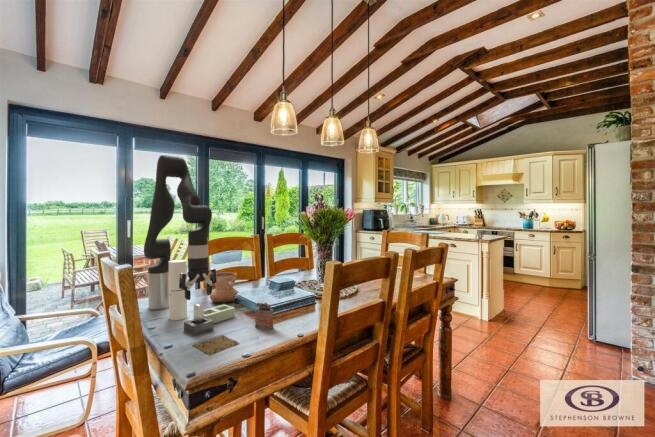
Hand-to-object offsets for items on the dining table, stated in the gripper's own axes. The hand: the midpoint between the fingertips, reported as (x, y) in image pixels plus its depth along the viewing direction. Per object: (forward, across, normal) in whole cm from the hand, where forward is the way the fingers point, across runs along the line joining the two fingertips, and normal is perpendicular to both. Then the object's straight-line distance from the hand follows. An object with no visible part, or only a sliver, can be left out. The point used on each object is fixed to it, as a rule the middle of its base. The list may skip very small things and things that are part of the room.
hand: (198, 297), depth 122 cm
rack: (+13, -11, -6) cm, 18 cm away
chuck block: (+13, 0, 0) cm, 13 cm away
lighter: (+14, -18, +18) cm, 29 cm away
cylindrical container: (+13, -2, -21) cm, 25 cm away
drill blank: (+12, 0, 0) cm, 12 cm away
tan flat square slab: (+14, +3, +17) cm, 22 cm away
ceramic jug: (+13, -29, -27) cm, 42 cm away
